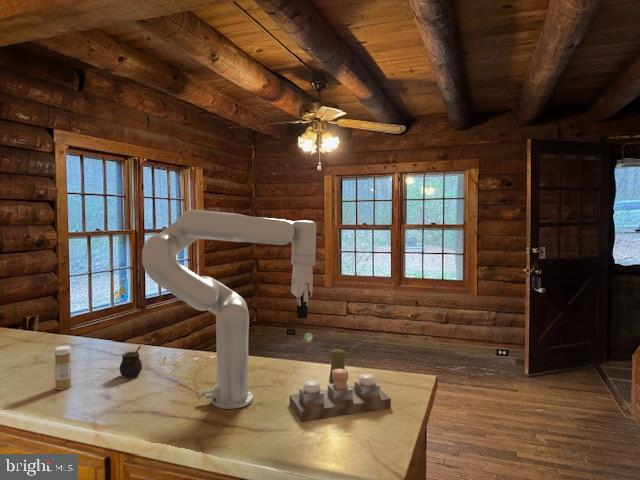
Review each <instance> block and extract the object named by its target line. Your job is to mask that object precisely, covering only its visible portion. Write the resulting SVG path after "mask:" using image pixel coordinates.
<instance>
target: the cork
mask: <svg viewBox="0 0 640 480" xmlns="http://www.w3.org/2000/svg"><path fill="white" fill-rule="evenodd" d="M330 359H331V364H330V372H329V379H328V381H329V384H334V380H333V379H332V371H333V370H334V369H345V370H346V368H345V359H346V351H345V350H344V349H341V348H337V349H336V348H334V349H332V350H331V351H330Z"/></svg>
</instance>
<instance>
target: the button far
mask: <svg viewBox="0 0 640 480" xmlns="http://www.w3.org/2000/svg"><path fill="white" fill-rule="evenodd" d="M358 381H359V383H360V384H361V385H363V386H373V385H375V382H376V376H375V375H374V374H370V373H361V374H360V375H359V379H358Z"/></svg>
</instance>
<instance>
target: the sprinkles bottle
mask: <svg viewBox="0 0 640 480" xmlns="http://www.w3.org/2000/svg"><path fill="white" fill-rule="evenodd" d="M53 352H54V358H55V359H54V360H55V361H54V362H55V363H54V365H55V366H54V368H55V371H54V372H55V373H54V374H55V375H54V376H55V389H56V390H57V391H64V390H68V389H70V388H71V387H72V378H71V377H72V367H71V365H72V363H71V353H72V349H71V346H70V345H61V346H57V347H55V348H54V350H53Z"/></svg>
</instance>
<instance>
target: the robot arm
mask: <svg viewBox="0 0 640 480" xmlns="http://www.w3.org/2000/svg"><path fill="white" fill-rule="evenodd" d="M197 239H199V240H212V241H225V242H234V243H235V242H236V243H254V244H266V245H278V246H279V245H280V246H283V245H284V246H285V245H288V244H289V243H291V262H290V263H291V265H292V266H293V267H292V271H291V272H292V274H291V275H292V276H291V289H290V292H291V294H293V295H294V297H296V315H295V316H296V318H297V319H307V318H308V311H309V310H308V304H309V298H311V297H312V296H313V290H314V289H313V287H314V282H313V281H314V280H313V279H314V275H313V271H314V270H313V266H316V250H317V249H316V248H317V247H316V246H317V244H316V243H317V224H316V222H315V221H312V220H295V221H294V220H293V221H292V220H286V219H281V218H279V219H278V218H268V217H259V216H258V217H257V216H250V215H244V214H241V213H234V212H223V211H213V210H212V211H211V210H203V209H202V210H201V209H188V210H185V211H184V212H183V213H182V214H181V215H180V217H179V218H178V219H177V220H176V221H174V222H173V223H171V224H170V225H169V226H168V227H166V228H165V229H163V230H162V231H160V232H158V233H156V234H153V235H151V236H150V237H148V239H146V241H145V243H144V244H143V247H142V254H141V262H142V266H143V269H144V271H145V273H146V274H147V276H148V277H149V278H150V279H151V280H152V281H153V282H154V283H155V284H157V285H158V286H159V287H161V288H163V289H164V290H166V291H167V292H169V293H171V294H172V295H173V296H174V297H176V298H178V299H179V300H181V301H182V302H184V303H186V304H187V305H189V307H191V308H193V309H195V310H197V311H201V312H204V311H208V312H209V313H211V314H212V315H213V314H214V315H215V320H216V321H215V329H216V330H215V331H216V384H215V385H214V387H212V388H211V389H203V390H202V389H201V390H200V397H201V398H203V397H204V398H205V399H206V400H208V399H210V400H211V404H212V406H214V407H216V408H218V409H223V410H234V409H235V410H236V409H241V408H244V407H247V406H249V405H250V404H252V402H253V401H254V394H253V393H252V392H251V391H250V390H249V327H250V326H249V325H250V314H249V309H248V304H247V303H246V300H245V299H244V298H243V297H242V296H241V295H239V294H238V293H237V292H235V291H234V290H232V289H230V288H229V287H227V285H224V284H223V283H222V282H220V281H218V280H216V279H215V278H213V277H211V276H207V275H198V274H197V273H195V272H193V271H191V270H190V269H188V267H186V266H184V265H182V264H181V263H179V262H178V261H177V260H176V258H175V256H177V255H178V254H179V253H181V252H183V250H185V249H186V248H188V247H189V246H190V245H192V244H194V242H195V241H197Z"/></svg>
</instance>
